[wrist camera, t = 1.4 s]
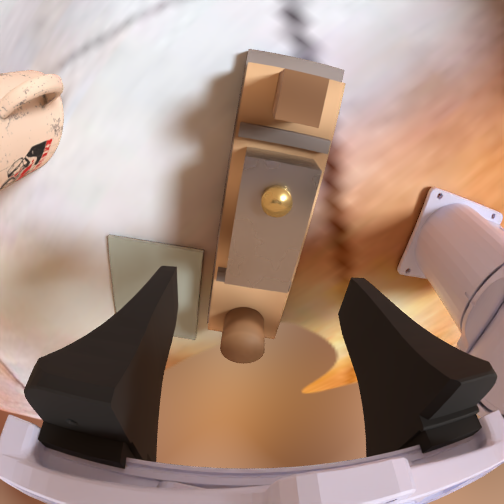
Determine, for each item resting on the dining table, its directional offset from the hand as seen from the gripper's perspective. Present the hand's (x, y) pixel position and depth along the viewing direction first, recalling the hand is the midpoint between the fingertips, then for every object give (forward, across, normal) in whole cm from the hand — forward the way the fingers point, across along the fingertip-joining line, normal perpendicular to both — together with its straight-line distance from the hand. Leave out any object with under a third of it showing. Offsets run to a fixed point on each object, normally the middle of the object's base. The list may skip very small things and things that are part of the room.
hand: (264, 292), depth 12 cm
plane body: (+10, -1, +1) cm, 11 cm away
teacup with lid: (+12, +18, -6) cm, 22 cm away
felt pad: (+11, +8, +10) cm, 16 cm away
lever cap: (+8, -1, 0) cm, 8 cm away
